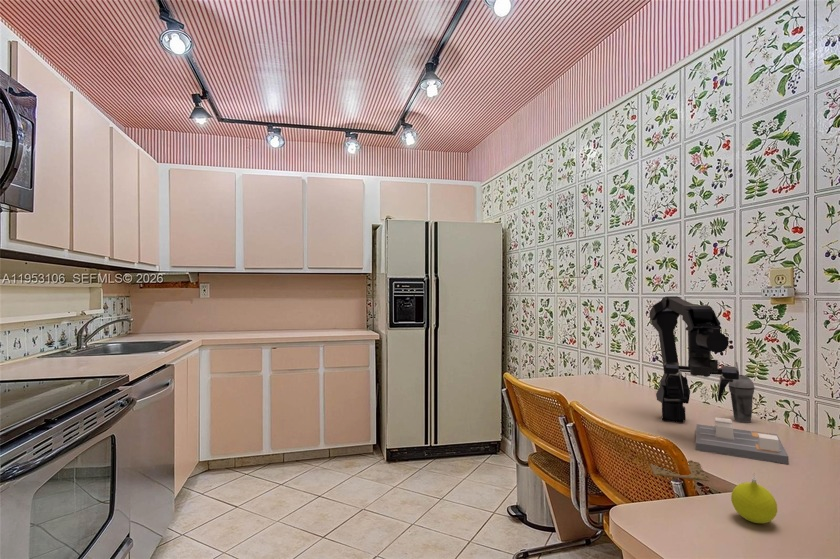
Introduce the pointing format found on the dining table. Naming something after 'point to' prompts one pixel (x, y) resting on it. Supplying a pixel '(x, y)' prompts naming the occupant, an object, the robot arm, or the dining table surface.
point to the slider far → (723, 421)
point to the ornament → (754, 502)
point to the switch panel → (737, 444)
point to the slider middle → (724, 430)
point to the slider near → (768, 442)
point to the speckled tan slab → (695, 474)
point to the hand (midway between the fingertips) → (700, 398)
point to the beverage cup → (742, 398)
